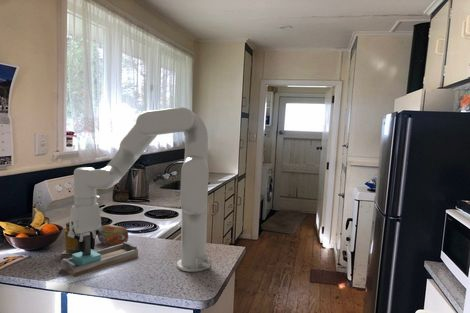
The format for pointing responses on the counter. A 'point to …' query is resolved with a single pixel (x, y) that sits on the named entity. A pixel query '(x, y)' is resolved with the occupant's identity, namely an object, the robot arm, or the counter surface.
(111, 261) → the rail board
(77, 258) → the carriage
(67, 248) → the condiment
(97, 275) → the counter surface
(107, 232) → the orange brown rounded block
